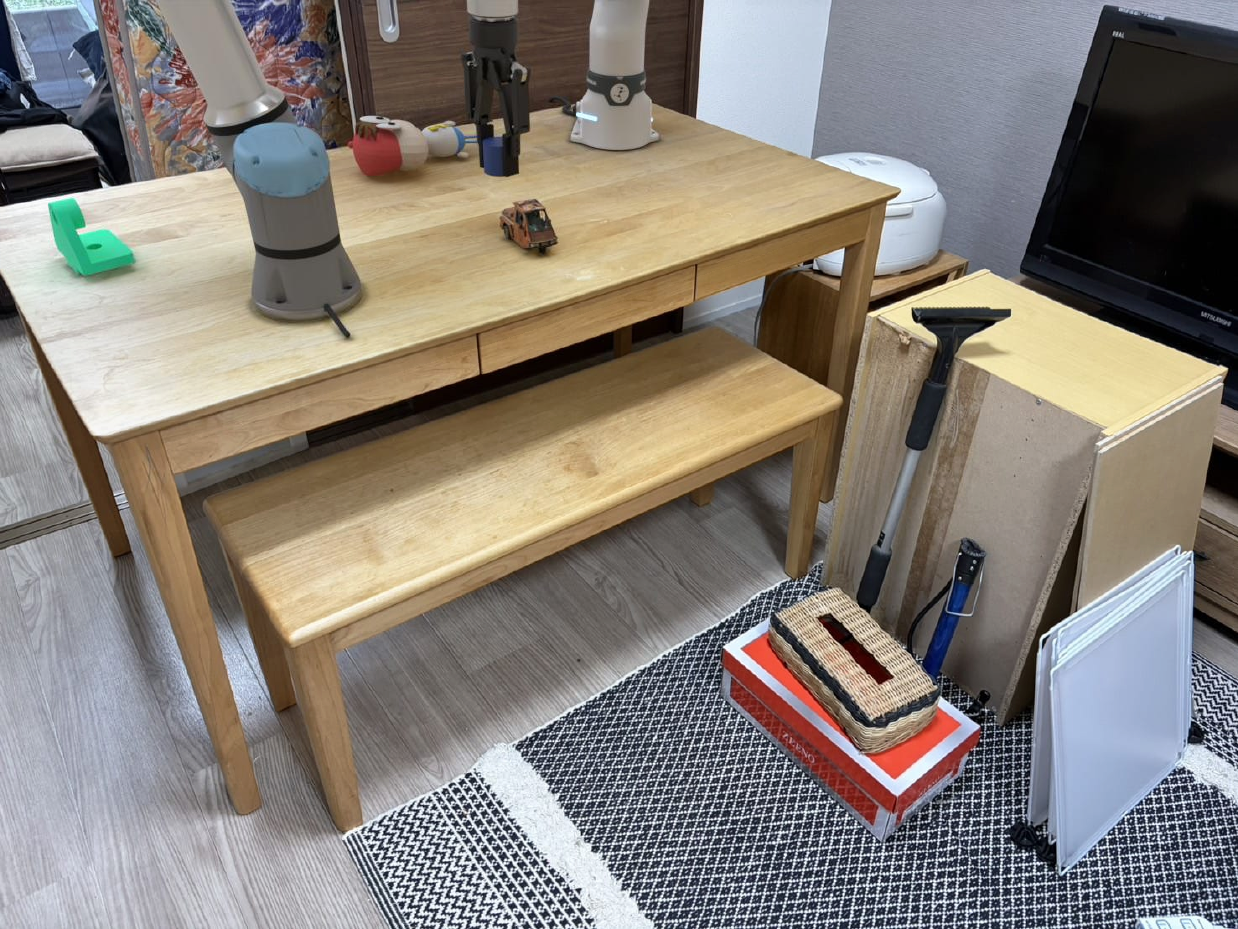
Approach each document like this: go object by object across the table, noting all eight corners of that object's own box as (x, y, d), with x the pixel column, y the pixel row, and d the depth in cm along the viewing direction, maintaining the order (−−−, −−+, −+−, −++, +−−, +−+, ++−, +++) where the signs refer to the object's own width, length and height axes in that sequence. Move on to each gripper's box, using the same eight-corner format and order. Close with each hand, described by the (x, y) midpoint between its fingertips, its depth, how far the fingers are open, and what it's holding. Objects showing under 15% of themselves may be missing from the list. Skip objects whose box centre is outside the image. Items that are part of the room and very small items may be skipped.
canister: (510, 165, 155) (510, 135, 152) (518, 175, 151) (518, 145, 148) (480, 167, 153) (479, 137, 150) (488, 178, 150) (486, 147, 147)
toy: (516, 122, 178) (364, 126, 163) (515, 176, 183) (367, 184, 168) (475, 107, 191) (331, 109, 176) (475, 157, 196) (335, 163, 181)
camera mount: (139, 268, 141) (119, 203, 135) (86, 282, 137) (63, 216, 130) (111, 243, 148) (91, 180, 142) (60, 256, 144) (37, 191, 137)
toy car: (524, 226, 158) (523, 186, 153) (566, 250, 150) (565, 209, 146) (492, 235, 154) (490, 194, 150) (533, 260, 147) (532, 218, 143)
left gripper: (553, 23, 136) (554, 179, 150) (472, 3, 145) (480, 151, 159) (516, 29, 131) (520, 190, 145) (434, 8, 141) (445, 161, 154)
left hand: (499, 169), depth 152 cm, fingers closed on canister, 5 cm apart
